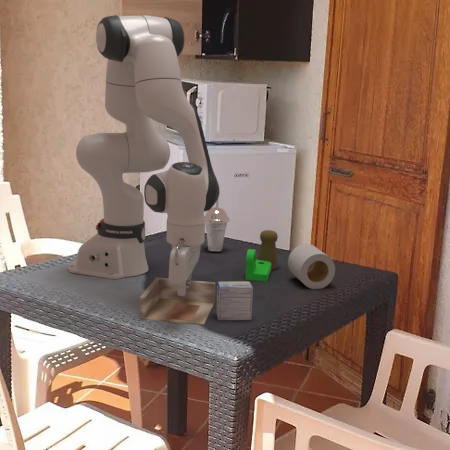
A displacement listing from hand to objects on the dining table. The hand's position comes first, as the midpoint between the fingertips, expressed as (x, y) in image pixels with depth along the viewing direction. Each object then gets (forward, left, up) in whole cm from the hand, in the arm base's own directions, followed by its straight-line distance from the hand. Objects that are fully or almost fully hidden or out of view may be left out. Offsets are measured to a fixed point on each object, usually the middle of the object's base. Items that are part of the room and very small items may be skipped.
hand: (184, 290), depth 157 cm
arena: (-1, +1, -6) cm, 6 cm away
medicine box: (+12, +1, -6) cm, 14 cm away
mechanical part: (+14, +36, -6) cm, 40 cm away
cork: (+16, +44, -6) cm, 48 cm away
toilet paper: (+29, +32, -6) cm, 44 cm away
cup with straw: (-2, +59, -6) cm, 59 cm away
